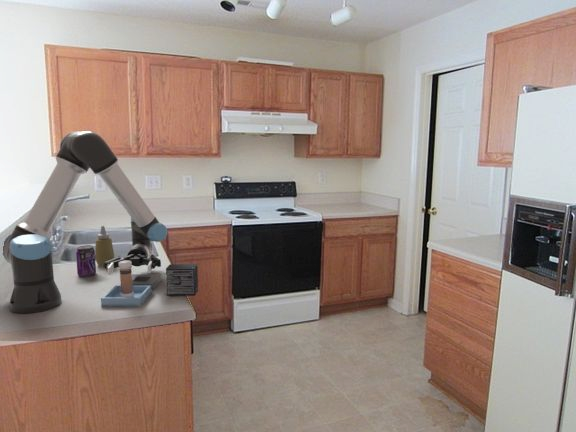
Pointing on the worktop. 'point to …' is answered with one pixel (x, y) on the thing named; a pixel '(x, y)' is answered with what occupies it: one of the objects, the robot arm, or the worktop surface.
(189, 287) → the small box
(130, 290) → the brown and white cylinder
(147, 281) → the holder
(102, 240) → the squeeze bottle
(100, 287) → the worktop surface
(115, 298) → the parts tray
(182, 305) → the worktop surface
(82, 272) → the beverage can
